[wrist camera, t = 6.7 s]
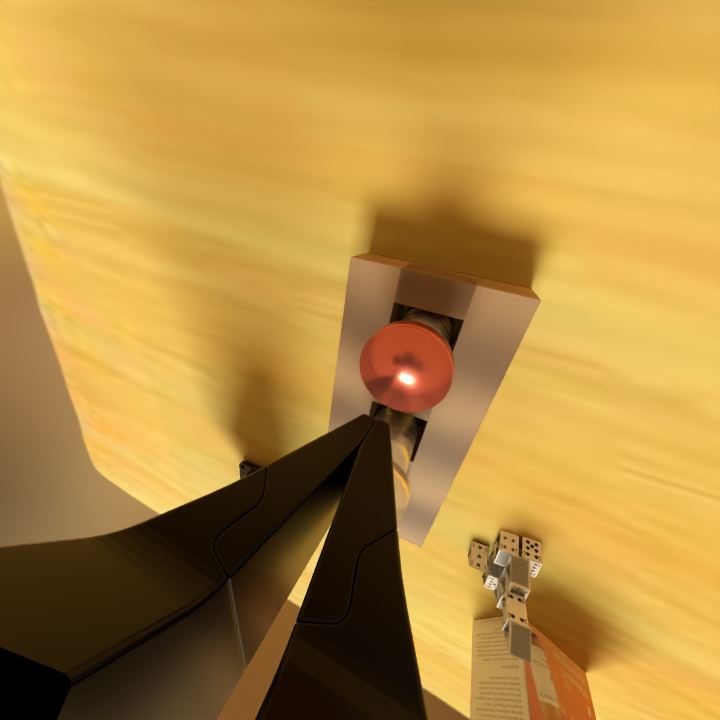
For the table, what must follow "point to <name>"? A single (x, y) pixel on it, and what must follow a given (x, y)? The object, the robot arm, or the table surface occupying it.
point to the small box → (524, 679)
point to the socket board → (471, 364)
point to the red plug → (409, 362)
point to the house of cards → (510, 585)
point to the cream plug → (400, 452)
